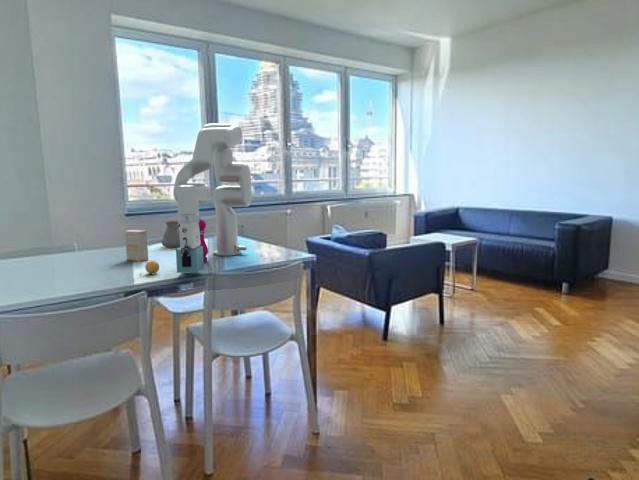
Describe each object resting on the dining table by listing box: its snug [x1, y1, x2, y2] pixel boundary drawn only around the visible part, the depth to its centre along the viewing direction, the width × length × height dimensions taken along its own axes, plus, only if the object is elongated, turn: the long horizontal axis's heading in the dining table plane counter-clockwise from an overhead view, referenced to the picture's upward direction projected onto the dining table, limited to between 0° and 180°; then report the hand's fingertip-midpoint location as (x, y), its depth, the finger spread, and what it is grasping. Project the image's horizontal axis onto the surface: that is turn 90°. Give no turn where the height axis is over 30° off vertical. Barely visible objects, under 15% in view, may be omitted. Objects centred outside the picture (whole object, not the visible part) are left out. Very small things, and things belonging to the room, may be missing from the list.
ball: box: [145, 260, 160, 275], centre depth 177 cm, size 5×5×5 cm
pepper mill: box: [198, 215, 209, 263], centre depth 197 cm, size 7×7×20 cm
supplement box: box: [124, 229, 149, 262], centre depth 201 cm, size 8×5×13 cm, turn 65°
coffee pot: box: [161, 220, 180, 249], centre depth 229 cm, size 21×12×15 cm, turn 42°
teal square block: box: [175, 246, 204, 274], centre depth 175 cm, size 8×8×9 cm
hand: (190, 264), depth 176 cm, fingers closed on teal square block, 7 cm apart
